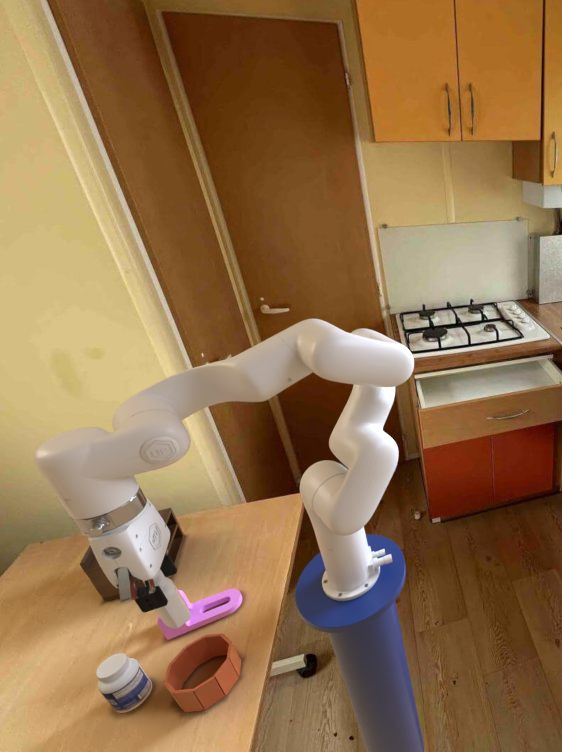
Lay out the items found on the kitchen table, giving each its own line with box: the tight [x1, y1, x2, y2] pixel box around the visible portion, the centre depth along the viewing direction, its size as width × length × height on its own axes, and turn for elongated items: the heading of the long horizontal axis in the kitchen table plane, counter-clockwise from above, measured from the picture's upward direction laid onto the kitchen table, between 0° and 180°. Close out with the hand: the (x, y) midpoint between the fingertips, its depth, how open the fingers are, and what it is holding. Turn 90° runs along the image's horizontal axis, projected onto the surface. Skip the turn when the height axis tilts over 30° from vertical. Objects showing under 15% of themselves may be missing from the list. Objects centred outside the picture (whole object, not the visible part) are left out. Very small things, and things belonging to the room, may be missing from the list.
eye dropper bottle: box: [143, 569, 191, 629], centre depth 68 cm, size 4×6×12 cm
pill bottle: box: [95, 652, 153, 714], centre depth 73 cm, size 5×5×10 cm
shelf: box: [79, 507, 186, 602], centre depth 97 cm, size 12×14×12 cm
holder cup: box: [163, 632, 242, 713], centre depth 76 cm, size 10×10×6 cm
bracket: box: [156, 588, 243, 641], centre depth 88 cm, size 13×6×7 cm, turn 120°
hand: (161, 590), depth 68 cm, fingers closed on eye dropper bottle, 5 cm apart
